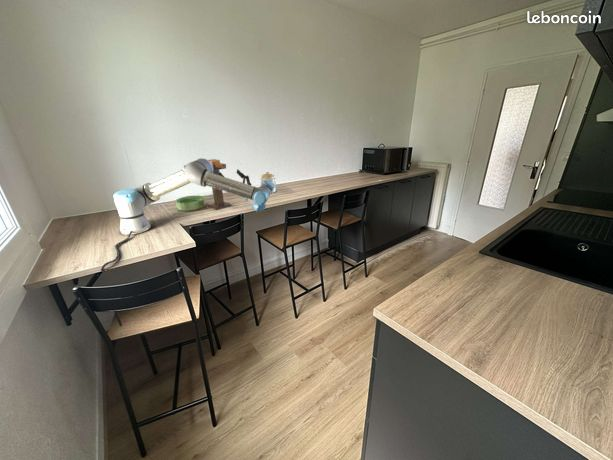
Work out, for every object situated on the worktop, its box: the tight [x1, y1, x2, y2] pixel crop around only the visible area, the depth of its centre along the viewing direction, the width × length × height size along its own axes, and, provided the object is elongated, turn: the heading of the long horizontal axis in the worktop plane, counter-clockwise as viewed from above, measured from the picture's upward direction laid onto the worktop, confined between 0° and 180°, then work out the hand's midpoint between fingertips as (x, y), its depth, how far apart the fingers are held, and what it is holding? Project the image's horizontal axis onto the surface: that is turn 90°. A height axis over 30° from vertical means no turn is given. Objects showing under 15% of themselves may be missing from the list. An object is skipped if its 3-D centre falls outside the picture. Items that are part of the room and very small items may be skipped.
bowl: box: [175, 194, 206, 212], centre depth 186 cm, size 20×20×6 cm
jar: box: [260, 171, 277, 194], centre depth 222 cm, size 13×13×18 cm
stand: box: [207, 167, 232, 211], centre depth 183 cm, size 12×12×30 cm
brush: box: [207, 158, 227, 169], centre depth 173 cm, size 17×6×4 cm, turn 49°
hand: (228, 172), depth 167 cm, fingers open, 13 cm apart
